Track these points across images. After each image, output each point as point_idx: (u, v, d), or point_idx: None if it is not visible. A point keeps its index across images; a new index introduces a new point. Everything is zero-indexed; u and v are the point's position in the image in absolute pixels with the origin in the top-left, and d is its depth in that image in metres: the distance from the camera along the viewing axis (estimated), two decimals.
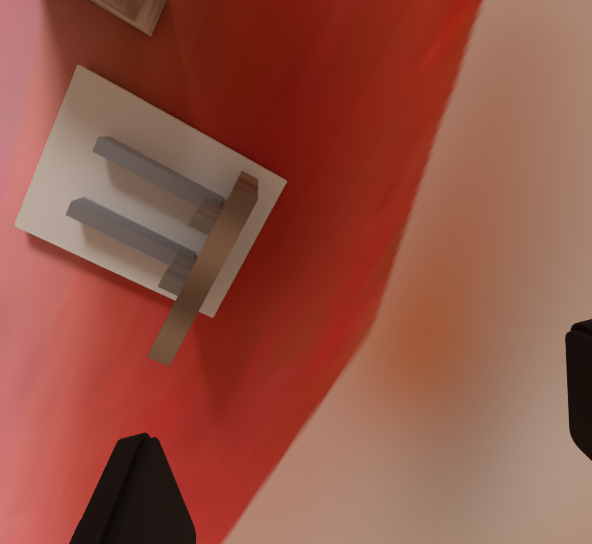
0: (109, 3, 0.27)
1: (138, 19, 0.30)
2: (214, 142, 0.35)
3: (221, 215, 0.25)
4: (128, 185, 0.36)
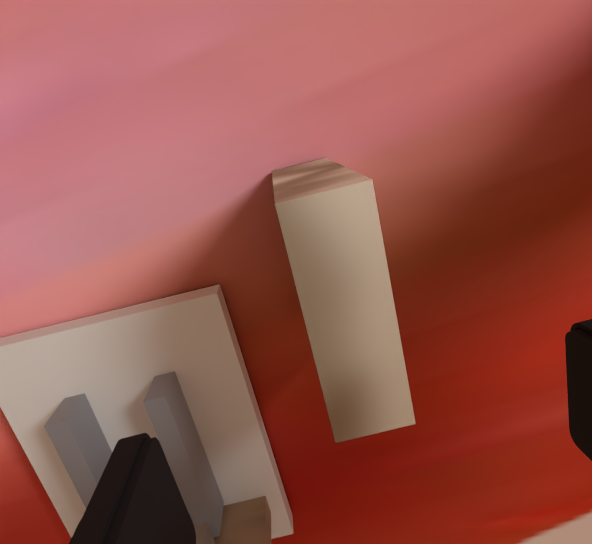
0: None
1: None
2: (267, 457, 0.27)
3: None
4: (143, 421, 0.26)
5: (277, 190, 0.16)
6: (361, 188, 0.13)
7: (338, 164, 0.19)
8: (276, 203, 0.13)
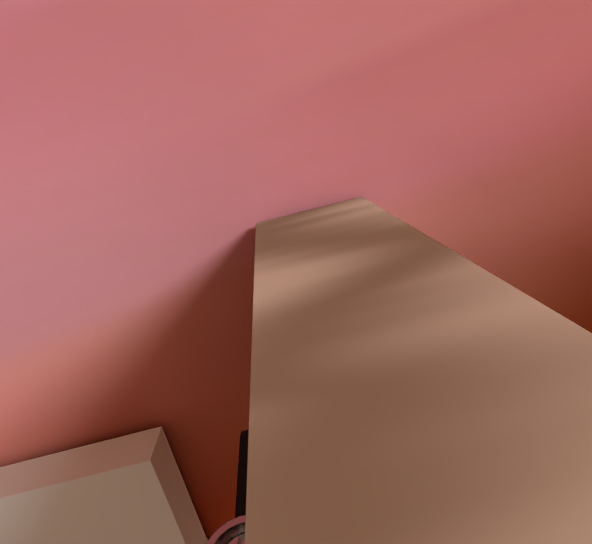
0: None
1: None
2: None
3: None
4: None
5: (265, 389, 0.04)
6: None
7: (423, 235, 0.07)
8: None
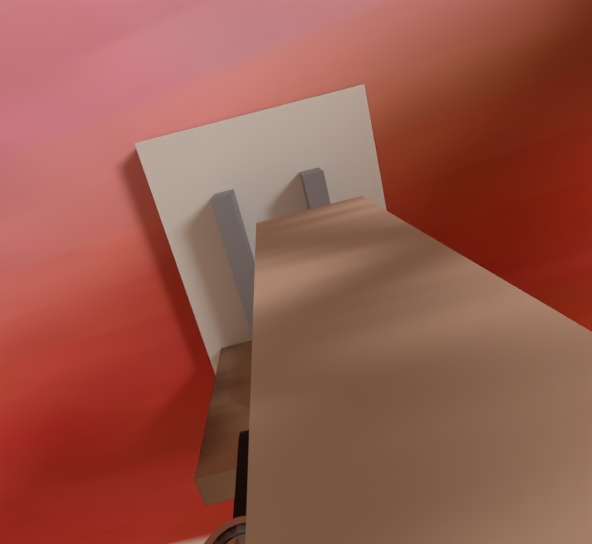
0: None
1: None
2: None
3: None
4: None
5: (265, 385, 0.04)
6: None
7: (422, 234, 0.07)
8: None
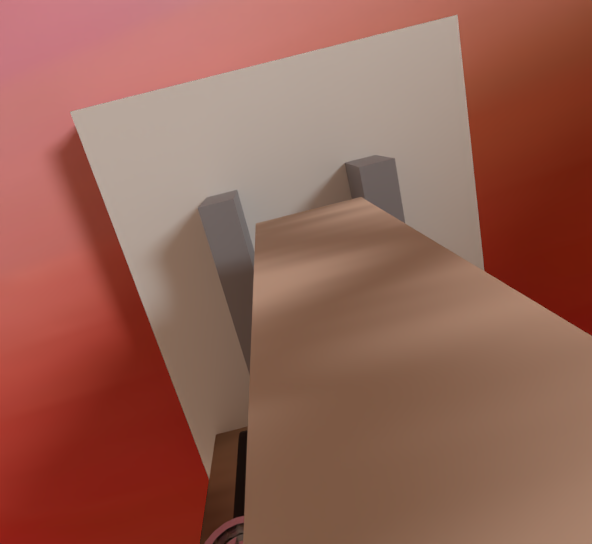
0: None
1: None
2: None
3: None
4: None
5: (264, 387, 0.04)
6: None
7: (421, 236, 0.07)
8: None
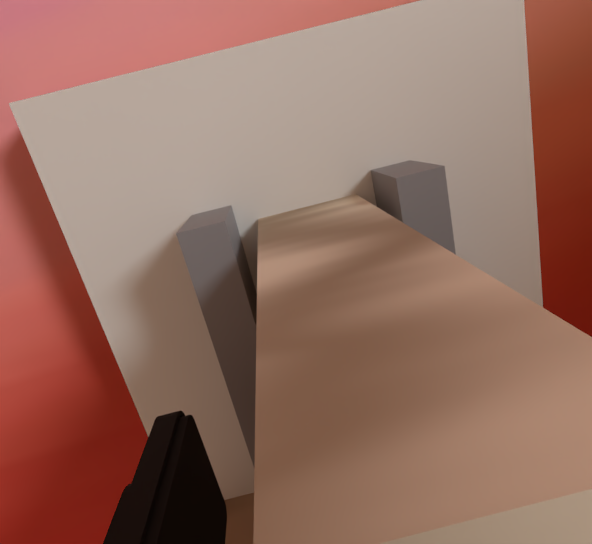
0: None
1: None
2: None
3: None
4: None
5: (268, 345, 0.05)
6: None
7: (406, 227, 0.08)
8: None
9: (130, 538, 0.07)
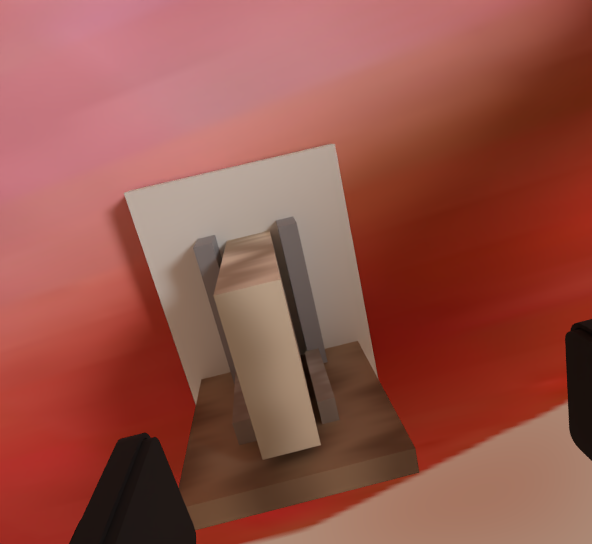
0: None
1: None
2: (362, 302, 0.32)
3: (379, 458, 0.21)
4: None
5: (220, 276, 0.22)
6: (272, 285, 0.19)
7: (272, 247, 0.25)
8: (214, 295, 0.19)
9: None
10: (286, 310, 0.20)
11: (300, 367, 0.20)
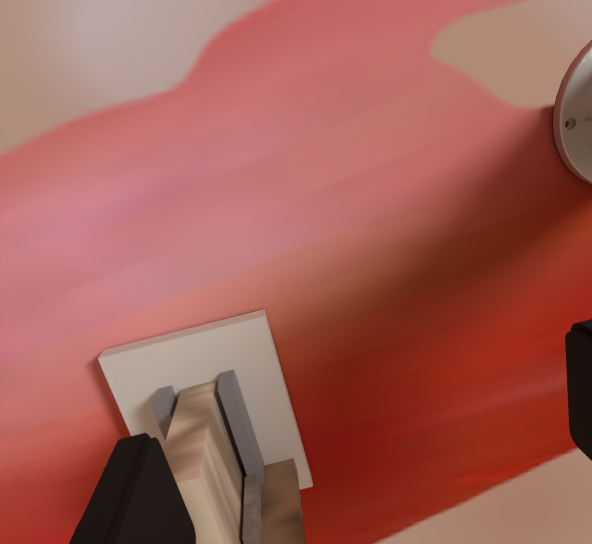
0: None
1: None
2: (295, 429, 0.39)
3: None
4: None
5: None
6: (193, 481, 0.26)
7: (208, 415, 0.32)
8: None
9: None
10: (205, 496, 0.27)
11: (218, 531, 0.28)
